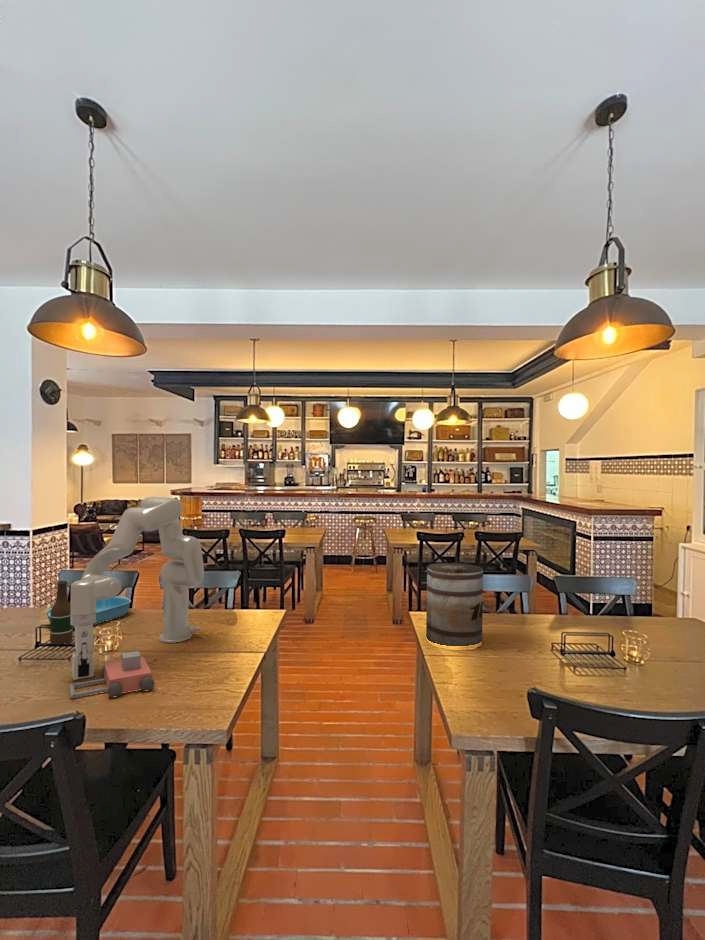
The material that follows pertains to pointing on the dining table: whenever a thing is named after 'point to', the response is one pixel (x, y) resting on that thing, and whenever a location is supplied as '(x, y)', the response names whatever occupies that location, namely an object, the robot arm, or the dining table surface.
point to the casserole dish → (108, 608)
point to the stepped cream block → (76, 662)
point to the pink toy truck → (120, 676)
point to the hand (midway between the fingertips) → (83, 672)
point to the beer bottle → (61, 617)
